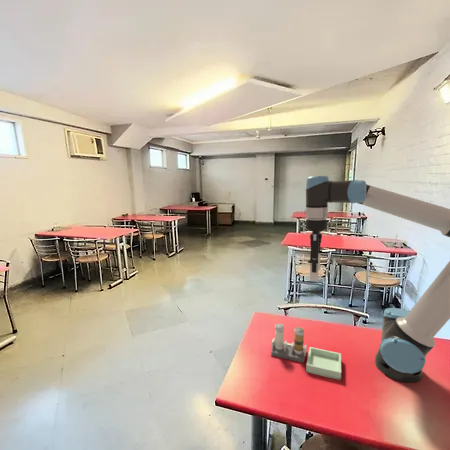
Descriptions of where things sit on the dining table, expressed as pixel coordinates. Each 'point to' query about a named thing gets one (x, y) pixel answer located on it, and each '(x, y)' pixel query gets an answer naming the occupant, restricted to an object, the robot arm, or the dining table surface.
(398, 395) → the dining table surface
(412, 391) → the dining table surface
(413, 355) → the robot arm
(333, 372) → the parts tray
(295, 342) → the fuse
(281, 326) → the cylinder
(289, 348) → the block
